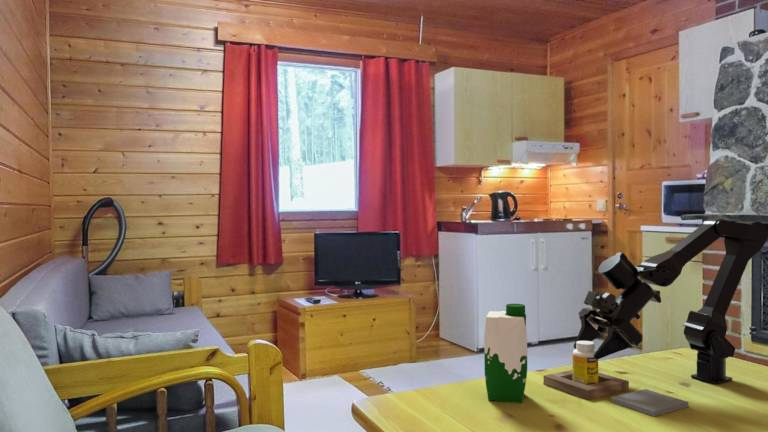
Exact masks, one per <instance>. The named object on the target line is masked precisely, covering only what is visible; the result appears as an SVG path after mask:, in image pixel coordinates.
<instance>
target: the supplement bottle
mask: <svg viewBox="0 0 768 432" xmlns="http://www.w3.org/2000/svg"><path fill="white" fill-rule="evenodd" d="M595 349H596V347H595V342H593V341H577V342H576V349H575V348H574V349H573V351H572V370H573V381H575V382H578V383H581V384H584V385H592V384H596V383H598V372H599V359H598V360H597V359H595V358H594V354H595V353H596V351H597V350H595Z"/></svg>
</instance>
